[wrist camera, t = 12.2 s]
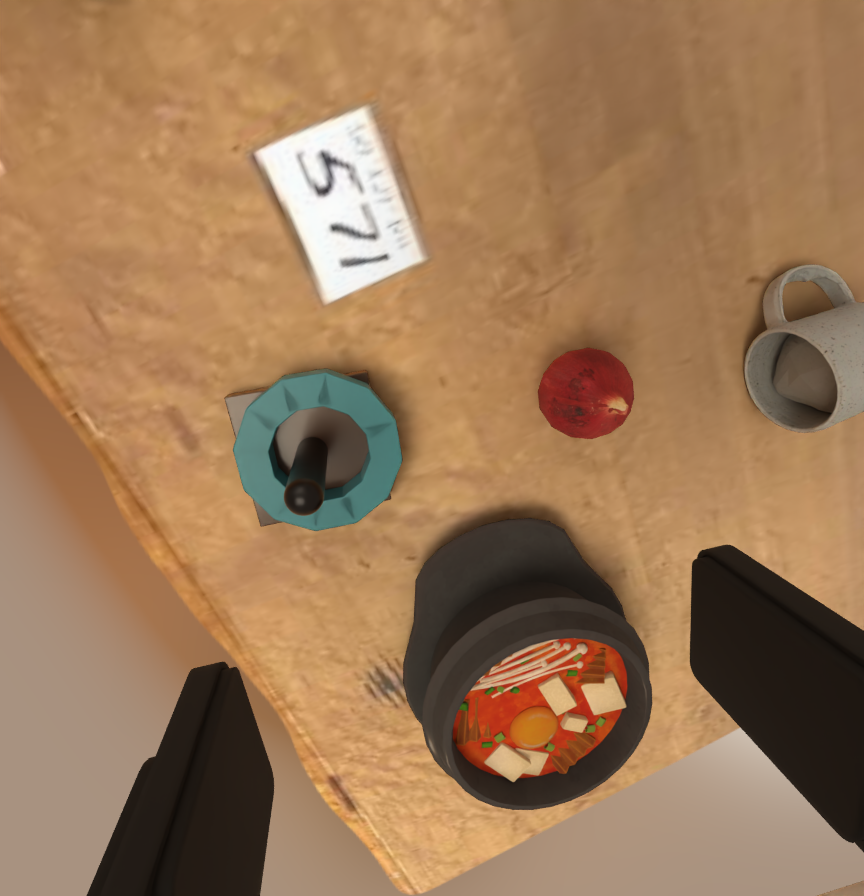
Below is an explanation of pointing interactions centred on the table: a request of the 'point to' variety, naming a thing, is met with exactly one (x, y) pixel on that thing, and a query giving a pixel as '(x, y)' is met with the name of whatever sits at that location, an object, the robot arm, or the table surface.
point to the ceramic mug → (809, 357)
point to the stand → (310, 451)
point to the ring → (307, 393)
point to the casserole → (524, 667)
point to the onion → (586, 393)
